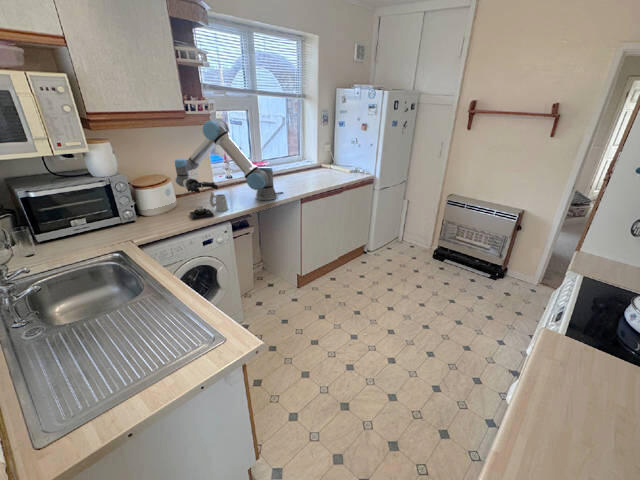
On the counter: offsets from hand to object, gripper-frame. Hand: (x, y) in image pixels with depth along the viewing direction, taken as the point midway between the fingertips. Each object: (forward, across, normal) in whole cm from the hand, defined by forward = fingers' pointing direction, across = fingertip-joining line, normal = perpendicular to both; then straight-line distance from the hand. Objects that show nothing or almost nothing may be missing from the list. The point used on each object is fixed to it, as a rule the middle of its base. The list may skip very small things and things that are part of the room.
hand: (208, 189), depth 216 cm
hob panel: (+13, +15, -12) cm, 23 cm away
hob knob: (+13, +15, -9) cm, 22 cm away
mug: (+10, 0, -12) cm, 16 cm away
